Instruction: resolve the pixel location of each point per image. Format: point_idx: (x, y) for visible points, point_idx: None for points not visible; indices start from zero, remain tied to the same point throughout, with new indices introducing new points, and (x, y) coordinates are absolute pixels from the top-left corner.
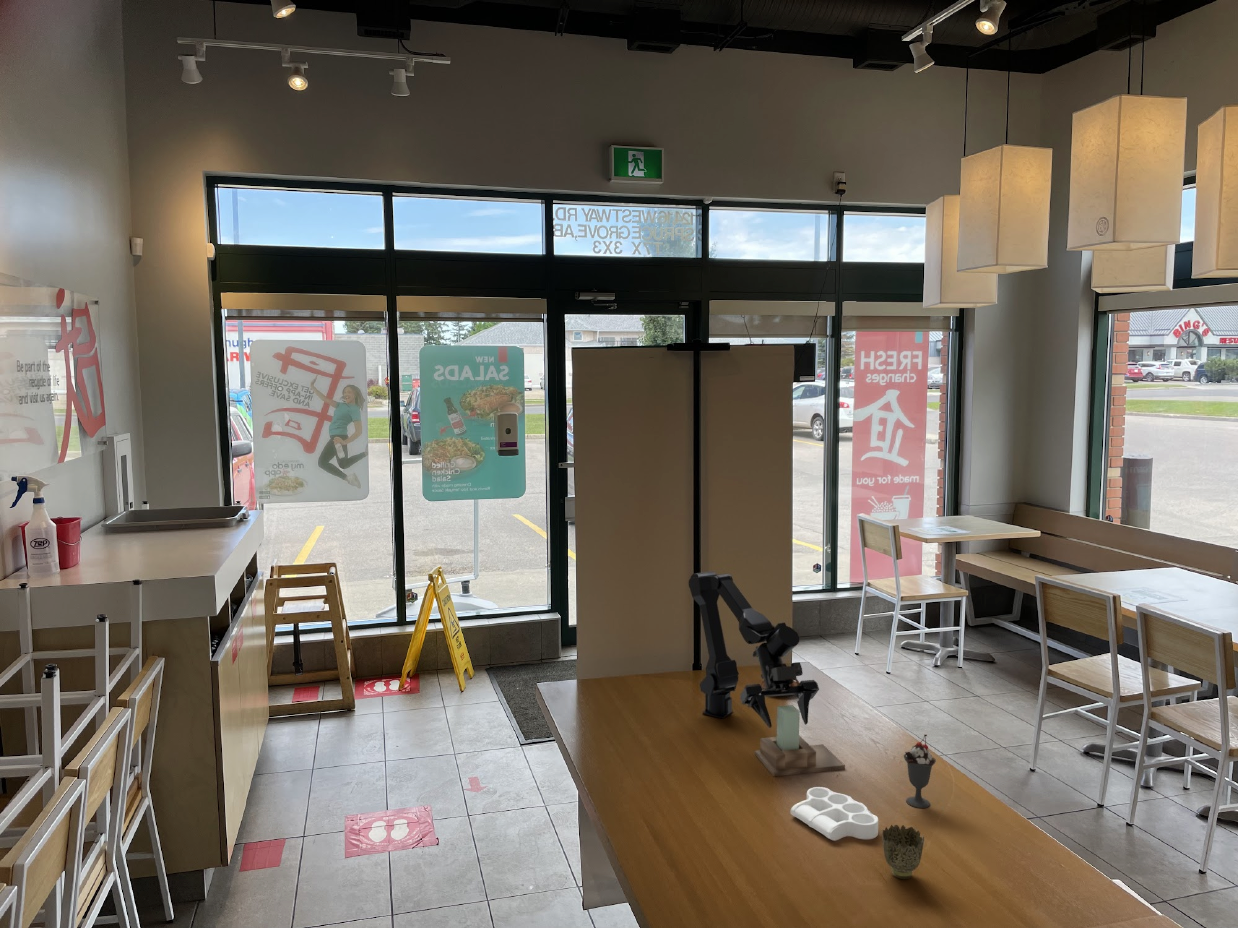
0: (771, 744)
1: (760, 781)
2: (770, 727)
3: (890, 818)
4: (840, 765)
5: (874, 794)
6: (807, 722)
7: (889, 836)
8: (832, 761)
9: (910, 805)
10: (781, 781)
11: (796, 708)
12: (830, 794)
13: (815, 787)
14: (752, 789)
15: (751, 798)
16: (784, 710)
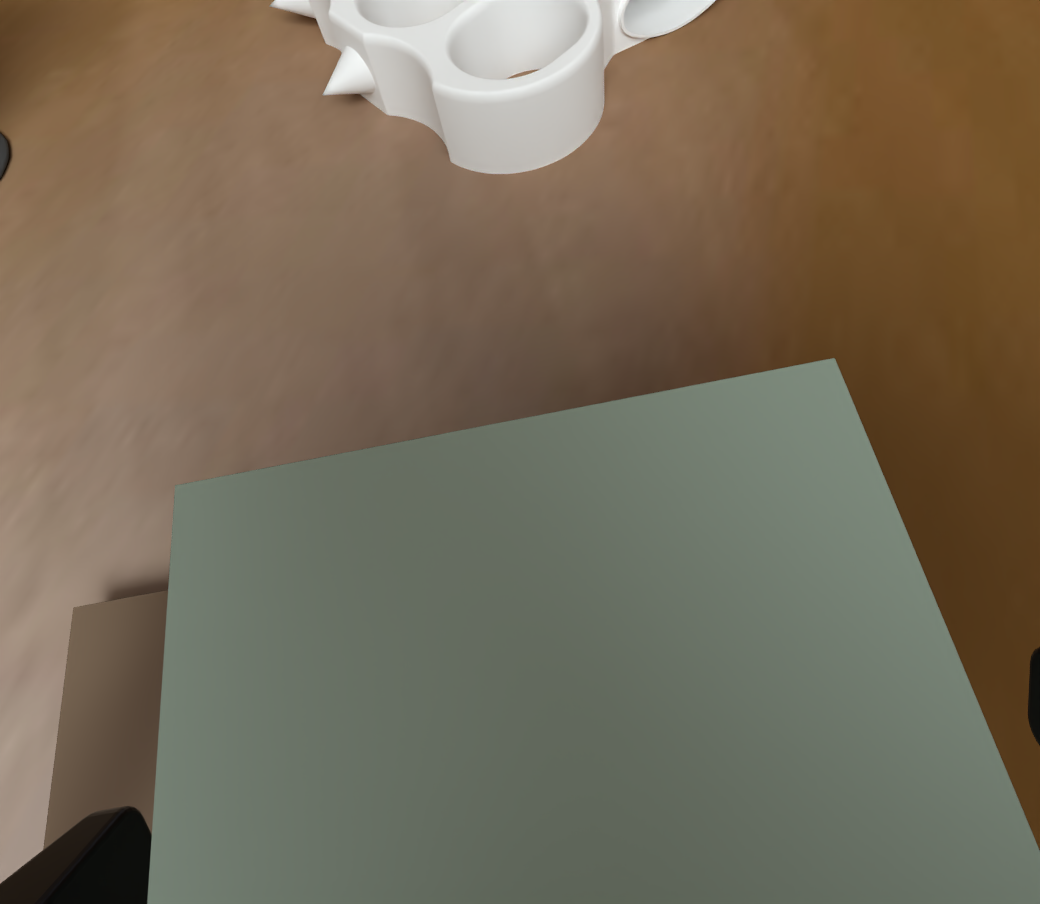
0: None
1: (915, 396)
2: (1033, 704)
3: (193, 40)
4: (119, 601)
5: (123, 244)
6: (101, 811)
7: None
8: (146, 693)
9: (8, 148)
10: None
11: (164, 791)
12: (446, 22)
13: (519, 83)
14: (983, 274)
15: (984, 161)
16: (781, 572)
